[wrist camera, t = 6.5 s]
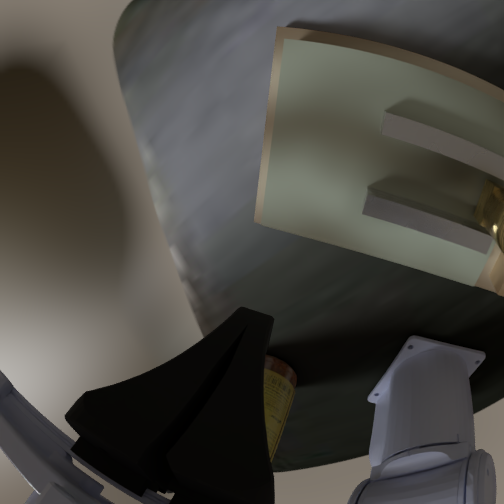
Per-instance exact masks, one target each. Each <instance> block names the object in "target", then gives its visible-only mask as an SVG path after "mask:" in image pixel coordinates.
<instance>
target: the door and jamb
mask: <svg viewBox="0 0 504 504" xmlns="http://www.w3.org/2000/svg"><path fill="white" fill-rule="evenodd" d="M384 111H386V112H390V113H393V114H396V115H400V116H403V117H406V118H409V119H412V120H415V121H418V122H421V123H424V124H427V125H430V126H433V127H436V128H438V129H441V130H444V131H446V132H449V133H451V134H454V135H456V136H459V137H461V138H464V139H466V140H468V141H471V142H473V143H475V144H478V145H480V146H482V147H484V148H487V149H489V150H491V151H493V152H495V153H497V154H499V155H501V156H503V157H504V90H502V89H500V88H499V87H497V86H495V85H493V84H491V83H489V82H487V81H485V80H482V79H480V78H478V77H476V76H474V75H472V74H469V73H467V72H465V71H462V70H460V69H458V68H455V67H453V66H450V65H448V64H445V63H443V62H440V61H437V60H434V59H432V58H429V57H426V56H423V55H420V54H417V53H414V52H411V51H407V50H404V49H401V48H397V47H394V46H390V45H386V44H382V43H378V42H374V41H370V40H366V39H361V38H356V37H351V36H346V35H341V34H335V33H329V32H323V31H316V30H308V29H299V28H289V27H277V31H276V40H275V48H274V56H273V65H272V73H271V82H270V90H269V99H268V107H267V115H266V124H265V132H264V141H263V149H262V158H261V166H260V175H259V183H258V192H257V200H256V209H255V218H254V222H256V223H260V224H261V225H262V226H266V227H270V228H274V229H278V230H281V231H285V232H289V233H293V234H296V235H300V236H304V237H307V238H311V239H315V240H318V241H322V242H326V243H329V244H333V245H336V246H340V247H343V248H347V249H351V250H354V251H358V252H361V253H365V254H368V255H372V256H375V257H378V258H382V259H385V260H389V261H392V262H395V263H399V264H402V265H406V266H409V267H412V268H415V269H419V270H422V271H425V272H429V273H432V274H435V275H438V276H442V277H445V278H448V279H451V280H454V281H458V282H461V283H464V284H467V285H470V286H473V287H474V286H478V287H481V288H484V289H487V290H490V291H493V292H496V293H497V294H498V295H501V296H504V254H503V253H502V251H501V250H500V248H499V247H498V245H497V244H496V242H495V241H494V239H493V241H492V243H491V246H490V248H489V250H488V252H487V254H483V253H480V252H478V251H475V250H472V249H469V248H466V247H464V246H461V245H458V244H455V243H452V242H449V241H446V240H443V239H440V238H438V237H435V236H431V235H428V234H425V233H422V232H419V231H416V230H413V229H410V228H407V227H403V226H400V225H397V224H394V223H390V222H387V221H384V220H380V219H377V218H373V217H370V216H367V215H363V214H362V204H363V200H364V197H365V193H366V189H367V186H368V187H371V188H374V189H378V190H381V191H385V192H388V193H391V194H395V195H398V196H401V197H404V198H407V199H411V200H414V201H417V202H420V203H423V204H426V205H429V206H432V207H434V208H437V209H440V210H443V211H446V212H449V213H451V214H454V215H457V216H460V217H462V218H465V219H468V220H470V221H473V222H475V223H478V221H477V220H476V219H475V217H474V216H473V215H474V212H475V209H476V207H477V204H478V201H479V198H480V195H481V192H482V189H483V186H484V183H485V180H486V179H488V180H490V181H492V182H494V183H497V184H499V185H501V186H503V187H504V180H502V179H499V178H497V177H495V176H493V175H491V174H489V173H486V172H484V171H482V170H480V169H477V168H475V167H473V166H470V165H468V164H465V163H463V162H461V161H458V160H455V159H453V158H450V157H448V156H445V155H442V154H440V153H437V152H434V151H431V150H429V149H426V148H423V147H420V146H417V145H414V144H411V143H408V142H405V141H402V140H398V139H395V138H392V137H388V136H385V135H382V134H381V132H380V129H381V124H382V119H383V114H384ZM478 224H479V223H478Z"/></svg>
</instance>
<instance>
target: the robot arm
mask: <svg viewBox="0 0 504 504" xmlns="http://www.w3.org/2000/svg"><path fill="white" fill-rule="evenodd" d="M273 323H274V318H273V317H272V316H270V315H266V314H263V313H260V312H257V311H254V310H251V309H248V308H245V307H240V308H238V309H237V310H236V311H235V312H234V313H233V314H232V315H231V316H230V317H229V318H228V319H227V320H225V321H224V322H223V323H222V324H221V325H220V326H218V327H217V328H216V329H215V330H213V331H212V332H211V333H210V334H208V335H207V336H206V337H204V338H203V339H202V340H201V341H199V342H198V343H196V344H195V345H193V346H192V347H190V348H189V349H187V350H186V351H184V352H183V353H181V354H180V355H178V356H176V357H175V358H173V359H171V360H170V361H168V362H166V363H164V364H162V365H160V366H158V367H156V368H154V369H152V370H150V371H148V372H145V373H143V374H141V375H139V376H136V377H133V378H130V379H128V380H125V381H122V382H120V383H117V384H114V385H110V386H106V387H102V388H99V389H95V390H91V391H86V392H85V393H84V394H83V395H82V396H81V397H80V398H79V399H78V400H77V401H76V402H75V403H74V405H73V406H72V407H71V408H70V410H69V411H68V412H67V413H66V415H65V419H66V421H67V422H68V423H69V425H70V426H71V427H72V428H73V429H74V430H75V431H76V432H77V433H78V434H79V435H80V437H79V438H78V440H77V441H76V442H75V441H74V440H72V439H71V438H70V437H68V436H67V435H66V434H64V433H63V432H62V431H61V430H59V429H58V428H57V427H56V426H55V425H54V424H53V423H51V422H50V421H49V420H48V419H47V418H46V417H44V416H43V415H42V414H41V413H40V412H39V411H38V410H37V409H36V408H35V407H33V406H32V405H31V404H30V403H29V402H28V401H27V400H26V399H25V398H24V397H23V396H22V395H21V394H20V393H19V392H18V391H17V390H16V389H15V388H14V387H13V385H12V383H11V382H10V381H9V380H8V378H7V377H6V376H5V375H4V374H3V373H2V372H1V371H0V448H1V449H2V451H3V452H4V454H5V455H6V456H7V457H8V459H9V460H10V461H11V463H12V464H13V465H14V466H15V468H16V469H17V470H18V471H19V472H20V474H21V475H22V476H23V477H24V478H25V480H26V481H27V482H28V483H29V484H30V485H31V486H32V487H33V488H34V491H33V493H32V494H31V495H30V497H29V498H28V500H27V501H26V502H25V504H114V503H113V502H111V501H109V500H108V499H106V498H105V497H103V496H102V495H100V493H101V492H102V490H103V489H104V486H103V485H101V484H100V483H98V482H97V481H95V480H94V479H92V478H91V477H90V476H88V475H87V474H86V473H84V472H83V471H81V470H80V469H79V468H77V467H76V466H75V465H74V464H73V462H72V457H73V458H74V459H76V460H77V461H78V462H80V463H81V464H82V465H84V466H85V467H87V468H88V469H89V470H91V471H92V472H93V473H95V474H96V475H98V476H99V477H101V478H102V479H104V480H105V481H107V482H108V483H110V484H111V485H113V486H114V487H116V488H118V489H119V490H121V491H122V492H124V493H126V494H127V495H129V496H131V497H133V498H134V499H136V500H138V501H140V502H141V503H143V504H274V503H275V492H274V475H273V470H272V465H271V460H270V454H269V448H268V441H267V432H266V423H265V411H264V365H265V355H266V352H267V349H268V345H269V341H270V336H271V332H272V327H273ZM409 345H412V346H409ZM485 357H486V356H485V353H484V352H482V351H478V350H473V349H469V348H465V347H461V346H456V345H452V344H448V343H444V342H440V341H436V340H432V339H428V338H424V337H420V336H415V335H413V336H410V337H409V338H408V339H407V341H406V342H405V344H404V346H403V347H402V349H401V350H400V352H399V353H398V355H397V356H396V358H395V359H394V361H393V362H392V364H391V365H390V367H389V368H388V370H387V371H386V372H385V374H384V375H383V377H382V378H381V380H380V381H379V382H378V384H377V385H376V386H375V388H374V389H373V390H372V392H371V393H370V394H369V396H368V401H369V402H372V403H376V409H375V417H374V424H373V431H372V437H371V444H370V449H369V459H370V463H371V466H372V470H371V475H370V478H369V479H366V480H364V481H362V482H361V483H360V484H359V485H358V486H357V487H356V489H355V490H354V492H353V493H352V495H351V497H350V499H349V501H348V503H347V504H495V503H496V475H495V467H494V462H493V459H492V456H491V455H490V454H489V453H487V452H485V451H484V450H483V449H479V450H477V451H476V450H475V436H474V435H475V433H474V418H473V407H472V398H471V390H470V382H469V377H470V376H471V375H472V373H473V372H474V371H475V370H476V369H477V368H478V366H479V365H480V364H481V363H482V362H483V360H484V359H485ZM71 456H72V457H71ZM157 491H160V492H161V493H164V494H165V493H166V492H167V493H173V492H174V493H175V494H174V496H173V498H172V499H171V500H169V499H167V498H165V497H163V496H161V495H159V494H157Z"/></svg>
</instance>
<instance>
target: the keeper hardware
mask: <svg viewBox="0 0 504 504" xmlns="http://www.w3.org/2000/svg"><path fill="white" fill-rule="evenodd" d="M380 132H381V134H382V135H385V136H388V137H392V138H395V139H398V140H402V141H405V142H408V143H411V144H414V145H417V146H420V147H423V148H426V149H429V150H431V151H434V152H437V153H440V154H442V155H445V156H448V157H450V158H453V159H455V160H458V161H461V162H463V163H465V164H468V165H470V166H473V167H475V168H477V169H480V170H482V171H484V172H486V173H489V174H491V175H493V176H495V177H497V178H499V179H502V180H504V157H503V156H501V155H499V154H497V153H495V152H493V151H491V150H489V149H487V148H484V147H482V146H480V145H478V144H475V143H473V142H471V141H468V140H466V139H464V138H461V137H459V136H456V135H454V134H451V133H449V132H446V131H444V130H441V129H438V128H436V127H433V126H430V125H427V124H424V123H421V122H418V121H415V120H412V119H409V118H406V117H403V116H400V115H396V114H393V113H390V112H386V111H384V114H383V119H382V124H381V129H380ZM362 214H363V215H367V216H370V217H373V218H377V219H380V220H384V221H387V222H390V223H394V224H397V225H400V226H403V227H407V228H410V229H413V230H416V231H419V232H422V233H425V234H428V235H431V236H435V237H438V238H440V239H443V240H446V241H449V242H452V243H455V244H458V245H461V246H464V247H466V248H469V249H472V250H475V251H478V252H480V253H483V254H487V252H488V250H489V248H490V246H491V243H492V241H493V238H492V236H491V235H490V233H489V232H488V230H487V229H486V228H485V227H483V226H480V224H478V223H475V222H473V221H470V220H468V219H465V218H462V217H460V216H457V215H454V214H451V213H449V212H446V211H443V210H440V209H437V208H434V207H432V206H429V205H426V204H423V203H420V202H417V201H414V200H411V199H407V198H404V197H401V196H398V195H395V194H391V193H388V192H385V191H381V190H378V189H374V188H371V187H368V186H367V189H366V193H365V197H364V200H363V204H362Z"/></svg>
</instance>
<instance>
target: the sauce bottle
mask: <svg viewBox="0 0 504 504" xmlns="http://www.w3.org/2000/svg"><path fill="white" fill-rule="evenodd" d="M296 382H297V375H296V373H295V372H294V370H293V369H292V368H291V367H290V366H289V365H288V364H287V363H286V362H284V361H282V360H280V359H278V358H276V357H274V356H269V355H265V365H264V411H265V423H266V432H267V441H268V448H269V454H270V460H271V462H272V459H273V457H274V454H275V451H276V448H277V446H278V443H279V440H280V437H281V434H282V431H283V428H284V425H285V422H286V419H287V416H288V413H289V410H290V407H291V404H292V401H293V398H294V394H295V390H294V389H295V386H296Z"/></svg>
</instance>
